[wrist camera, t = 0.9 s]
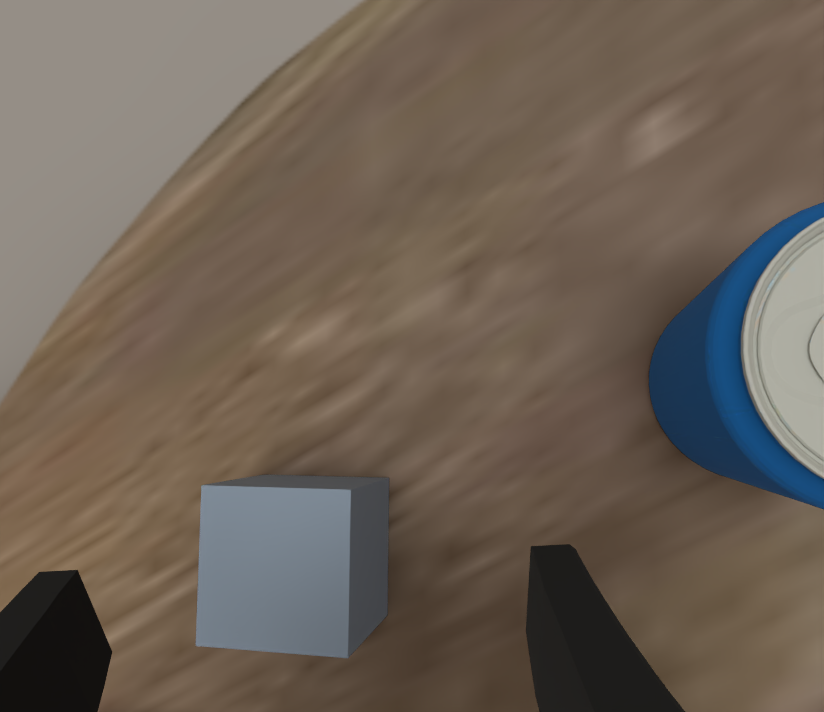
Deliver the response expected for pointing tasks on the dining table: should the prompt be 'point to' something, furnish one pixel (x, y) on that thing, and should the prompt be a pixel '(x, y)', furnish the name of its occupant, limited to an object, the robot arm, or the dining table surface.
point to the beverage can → (753, 366)
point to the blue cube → (293, 563)
